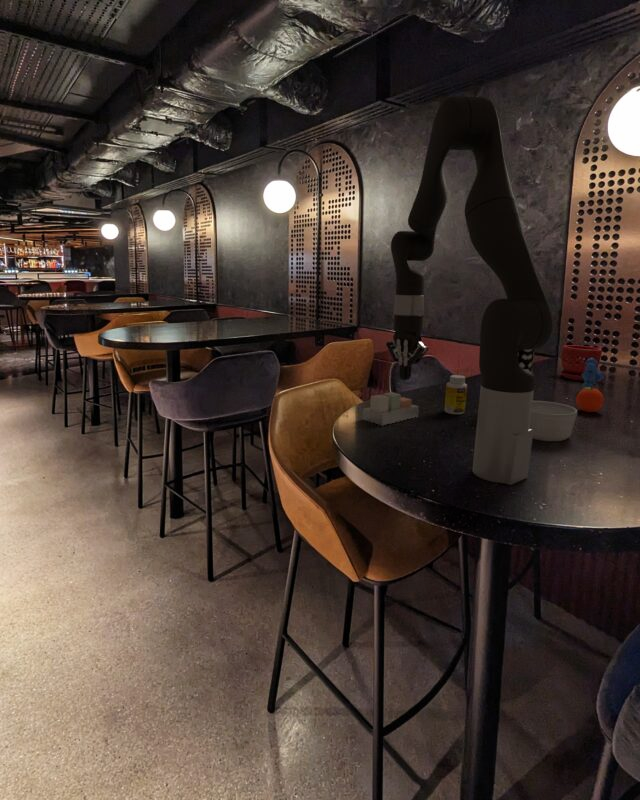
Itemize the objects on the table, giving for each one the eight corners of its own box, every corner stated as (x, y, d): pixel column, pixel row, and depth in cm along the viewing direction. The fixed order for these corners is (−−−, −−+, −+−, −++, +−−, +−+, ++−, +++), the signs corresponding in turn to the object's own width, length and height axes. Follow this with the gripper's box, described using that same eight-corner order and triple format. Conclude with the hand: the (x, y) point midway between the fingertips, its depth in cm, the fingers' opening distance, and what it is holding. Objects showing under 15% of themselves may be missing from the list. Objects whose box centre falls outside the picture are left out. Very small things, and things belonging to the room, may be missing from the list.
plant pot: (596, 383, 181) (601, 350, 178) (556, 379, 188) (560, 347, 185) (598, 377, 192) (603, 346, 189) (560, 373, 199) (565, 343, 196)
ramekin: (502, 429, 126) (505, 402, 124) (543, 424, 130) (547, 398, 129) (542, 446, 114) (546, 416, 112) (586, 440, 118) (590, 412, 117)
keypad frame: (418, 417, 135) (418, 406, 134) (382, 426, 126) (382, 414, 125) (398, 411, 140) (398, 400, 139) (362, 419, 131) (362, 408, 130)
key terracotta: (410, 413, 136) (411, 399, 135) (402, 415, 134) (403, 401, 133) (401, 411, 138) (402, 397, 137) (393, 413, 136) (394, 398, 135)
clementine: (565, 409, 146) (569, 385, 144) (581, 406, 149) (585, 383, 147) (591, 416, 139) (595, 391, 137) (607, 413, 142) (611, 388, 140)
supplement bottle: (455, 416, 136) (458, 379, 134) (439, 411, 141) (442, 375, 138) (469, 413, 139) (472, 377, 137) (453, 408, 144) (456, 373, 141)
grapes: (601, 398, 159) (607, 361, 156) (577, 395, 162) (583, 359, 159) (601, 391, 169) (607, 356, 166) (579, 389, 172) (584, 354, 169)
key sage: (399, 409, 132) (400, 394, 131) (391, 411, 130) (392, 396, 129) (390, 406, 135) (391, 392, 134) (382, 408, 133) (383, 393, 132)
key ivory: (387, 412, 129) (388, 397, 128) (379, 414, 127) (379, 398, 126) (378, 409, 132) (379, 394, 131) (370, 411, 130) (370, 396, 129)
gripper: (379, 312, 132) (377, 377, 136) (419, 315, 122) (415, 385, 126) (398, 311, 136) (395, 374, 141) (438, 314, 127) (434, 381, 131)
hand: (405, 379), depth 133 cm, fingers closed
